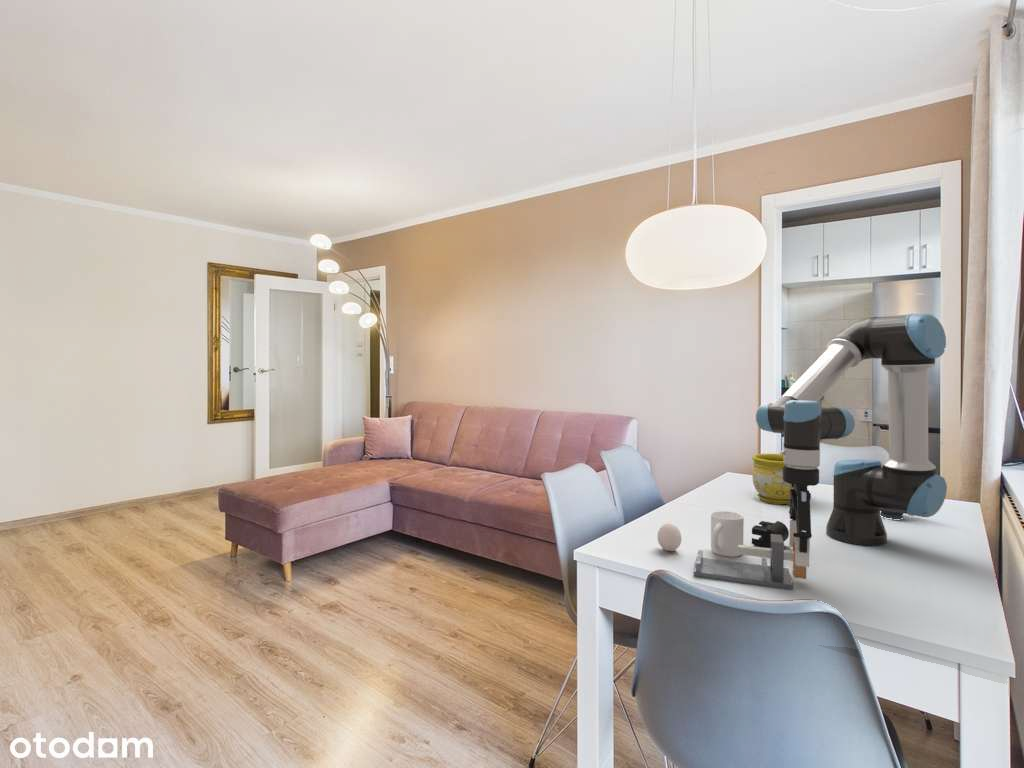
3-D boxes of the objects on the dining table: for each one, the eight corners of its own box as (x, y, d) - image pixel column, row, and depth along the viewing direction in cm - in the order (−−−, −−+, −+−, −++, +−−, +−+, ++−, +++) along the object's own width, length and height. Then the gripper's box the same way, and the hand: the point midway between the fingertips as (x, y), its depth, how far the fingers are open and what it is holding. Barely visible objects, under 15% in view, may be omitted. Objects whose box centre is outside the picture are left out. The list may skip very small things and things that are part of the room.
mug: (728, 563, 138) (729, 524, 138) (698, 555, 144) (699, 517, 144) (748, 552, 146) (748, 515, 146) (719, 544, 152) (719, 509, 152)
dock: (788, 573, 131) (789, 533, 131) (792, 590, 122) (793, 546, 121) (696, 561, 140) (696, 523, 139) (693, 576, 130) (694, 535, 129)
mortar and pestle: (872, 518, 178) (872, 482, 177) (875, 512, 185) (876, 477, 184) (914, 524, 170) (915, 487, 170) (916, 517, 178) (916, 482, 177)
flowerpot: (815, 507, 192) (815, 461, 191) (765, 507, 192) (765, 461, 191) (789, 494, 210) (790, 453, 209) (744, 494, 210) (744, 453, 209)
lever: (804, 575, 126) (805, 541, 126) (806, 579, 124) (806, 545, 124) (738, 566, 132) (738, 534, 132) (738, 570, 130) (738, 537, 129)
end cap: (778, 555, 144) (778, 531, 143) (751, 549, 148) (751, 525, 148) (789, 546, 151) (789, 522, 151) (762, 540, 156) (762, 518, 156)
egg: (686, 551, 147) (686, 523, 147) (671, 556, 143) (671, 527, 143) (667, 545, 152) (667, 517, 152) (652, 549, 148) (652, 521, 148)
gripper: (778, 457, 138) (776, 538, 138) (787, 474, 115) (785, 571, 115) (811, 459, 135) (809, 542, 135) (828, 477, 112) (825, 577, 112)
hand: (798, 556), depth 125 cm, fingers open, 13 cm apart
